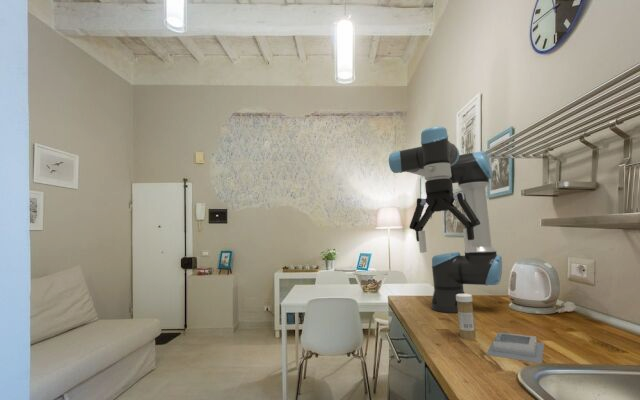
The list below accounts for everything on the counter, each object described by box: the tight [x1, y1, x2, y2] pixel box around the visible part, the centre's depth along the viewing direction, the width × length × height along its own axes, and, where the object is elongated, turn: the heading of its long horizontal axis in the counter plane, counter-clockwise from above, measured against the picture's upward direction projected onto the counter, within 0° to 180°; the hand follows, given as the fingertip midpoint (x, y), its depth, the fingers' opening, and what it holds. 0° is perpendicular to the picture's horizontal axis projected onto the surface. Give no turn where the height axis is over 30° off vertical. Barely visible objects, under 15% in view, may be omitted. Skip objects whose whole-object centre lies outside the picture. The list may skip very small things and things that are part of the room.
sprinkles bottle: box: [456, 293, 477, 340], centre depth 99 cm, size 5×5×14 cm
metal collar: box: [492, 331, 537, 357], centre depth 86 cm, size 9×9×2 cm
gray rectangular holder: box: [485, 341, 545, 365], centre depth 86 cm, size 16×12×1 cm
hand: (445, 252), depth 94 cm, fingers open, 13 cm apart
